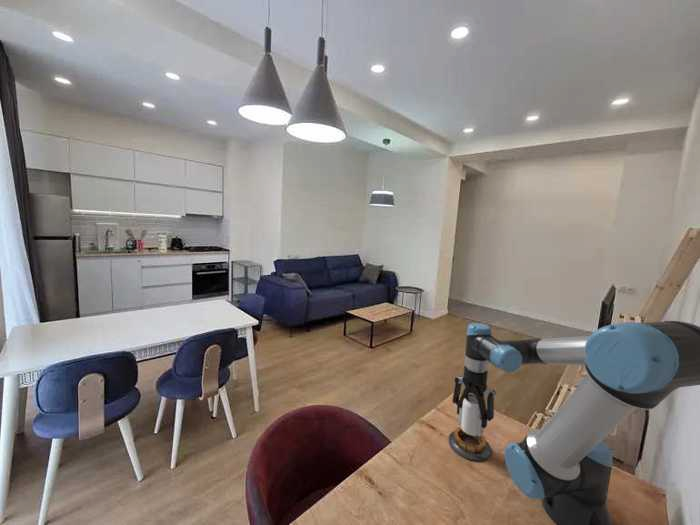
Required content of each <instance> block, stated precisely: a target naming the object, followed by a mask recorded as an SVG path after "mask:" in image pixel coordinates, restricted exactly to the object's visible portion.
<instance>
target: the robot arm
mask: <svg viewBox="0 0 700 525" xmlns="http://www.w3.org/2000/svg"><path fill="white" fill-rule="evenodd" d="M492 334H493V333H492V328H491V326H490V325H488V324H485V323H480V322H473V323H469V324H468V326H467V331H466V341H465V355H464V356H465V357H464V367H463V377H462V376H460V375H458V376H457V377H455V378H454V383H455V386H454V391H453V396H452V403H453V404H455V405H456V406H457V408H456V414H457V415H458V423H457V425H458V427H459V426H460V427H461V419H462V407H463V400H464V398H465V397H466V396H468V394H472V395H476V399H477V400H478V403H479V409H480V413H481V417H480V418H479V426H478V436H479V437H480V436H481V435H483V434H484V430H485V428H486V427H487V426H488V421H489V422H491V421H492V420H493V419H494V418H495V417H494V416H495V414H494V412H495V403H494V402H495V401H494V400H495V396H496V394H497V393H496V391H495V390H491V389H489V388H488V384H487V381H488V372H489V371H488V369H489V363H491V364H492V365H493V366H494V367H495V368H497V369H499V370H501V371H503V372H505V373H514V372H515V371H517V370H519V368H521V366H524V365H535V364H536V365H560V366H561V365H562V366H581V367H582V366H583V367H584V371H585V373H586V375H585V376H584V378H582V380H581V382H580V383H579V384H578V385H577V386H576V387H575V389H574V390H573V391H572V393H570V395H568V397H567V398H566V399H565V400H564V402H563V403H562V404H561V406H560V407H559V408H558V409H557V411H555V413H554V414H553V415H552V417H551V418H550V419H549V420H548V421H547V422H546V424H545V425H544V426H543V427H542V428H535V429H532V430H530V431H529V432H528V433H527V434H526V436H525V437H524V438H523V440H521V441H519V442H517V443H516V442H511V443H510V444H508V445H506V446H505V449H504V461H505V465H506V468H507V471H508V473H509V476H510V478H511V480H512V481H513V483H514V485H515V486H516V487H517V488H518V490H519V491H520V492H521V493H523V495H525V496H526V497H527V498H529V499H531V500H539V499H540V500H541V504H542V506H543V508H544V511H545V512H546V514H547V515H548V516H549V517H550V519H551V520H552V521H553V522H554V523H555V524H556V523H557V524H558V525H613V523H612V520H611V515H610V511H609V507H608V504H607V498H608V493H609V487H610V481H611V475H612V468H613V466H614V463H613V456H614V455H613V452H612V450H611V449H610V447H609V446H608V445H607V444H606V443H605V442H604V440H605V439H606V438H607V437H608V436H609V434H611V433H612V432H613V431H614V430H615V429H616V428H617V427H618V426H619V425H621V424H622V423H623V422H624V421H625V420H626V419H627V418H628V417H629V416H630V415H631V414H632V413H633V412H634V411H636V409H638V410H645V411H647V410H653V409H654V408H656V407H658V405H659V404H661V402H663V401H664V400H665V399H666V398H667V397H668V396H669V395H671V394H672V393H673V392H674V391H676V390H677V389H680V388H686V387H687V388H688V387H693V386H700V326H699V325H697V324H693V323H689V322H684V321H679V320H665V321H663V320H662V321H651V322H649V321H648V322H647V321H646V322H645V321H644V322H633V321H625V322H618V323H617V322H616V323H614V324H609V325H604V326H602V327H600V328H598V329H596V330H595V331H594V332H592V333H591V334H590V335H581V336H565V337H561V336H560V337H546V338H540V337H538V338H536V337H535V338H530V339H529V338H528V339H511V340H500V339H498V338H497V337H494V336H493V335H492ZM462 384H463V385H464V389H463V391H462V394H461V390H462V386H463V385H462ZM484 392H486V397H487V398H486V401H485V393H484ZM557 524H556V525H557Z"/></svg>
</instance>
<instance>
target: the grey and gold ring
mask: <svg viewBox="0 0 700 525" xmlns="http://www.w3.org/2000/svg"><path fill="white" fill-rule="evenodd" d="M448 445H449V447H450V448H451V450H452V451H453V452H454V453H456V454H457V455H459V456H460V457H461V458H463V459H466V460H469V461H472V462H484V461H487V460H488V459H489V458H490V456H491V455H492V450H491V449H492V448H491V445H490V443H489V442H488V441H487V440H486V437H485V436H484V435H483V434H482V435H481V436H480V437H479V436H478V435H477V436H471V435H468V434H466V433H465V432H464V431H463V430H462V429H461V426H460V427H459V426H458V427H457V428H456V429H454V431H452V432H450V434H449V435H448Z"/></svg>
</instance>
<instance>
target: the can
mask: <svg viewBox="0 0 700 525" xmlns="http://www.w3.org/2000/svg"><path fill="white" fill-rule="evenodd" d="M480 417H481V413H480V409H479V403H478V400H477V399H476V395H474V394H473V393H469V394H468V396H466V397H465V398H464V400H463V407H462V419H461V426H460V427H461V429H462V430H463V431H464V432H465V433H466V434H468V435H471V436H477V435H478V426H479V418H480Z"/></svg>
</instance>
